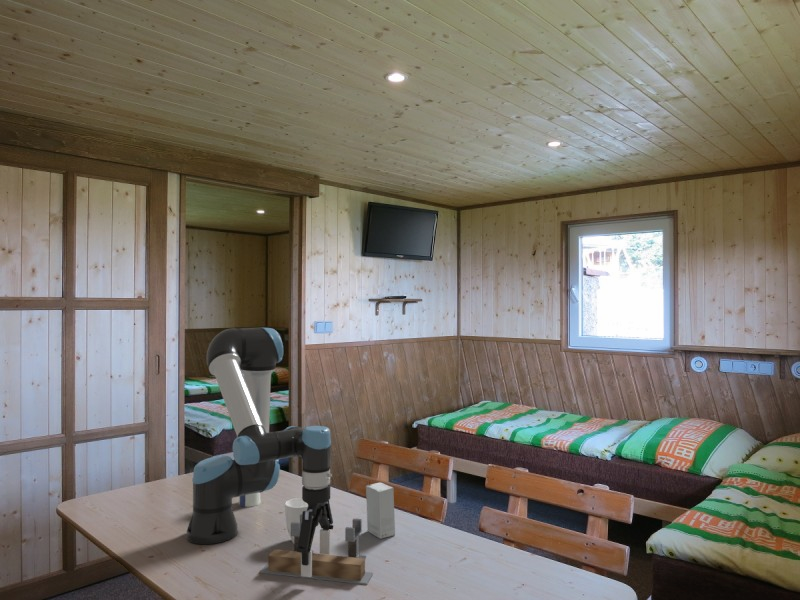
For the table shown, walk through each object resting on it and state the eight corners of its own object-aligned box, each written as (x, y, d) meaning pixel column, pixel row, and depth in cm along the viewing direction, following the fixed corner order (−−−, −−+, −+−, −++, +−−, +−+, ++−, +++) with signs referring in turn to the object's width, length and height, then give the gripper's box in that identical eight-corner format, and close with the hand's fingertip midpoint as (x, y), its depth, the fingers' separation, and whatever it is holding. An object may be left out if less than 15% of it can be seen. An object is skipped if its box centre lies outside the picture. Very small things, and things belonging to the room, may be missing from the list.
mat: (259, 572, 153) (259, 571, 153) (269, 562, 159) (269, 561, 159) (366, 584, 146) (366, 583, 146) (373, 574, 152) (373, 572, 152)
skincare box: (395, 535, 178) (395, 487, 178) (379, 540, 174) (379, 491, 175) (381, 526, 185) (381, 481, 185) (365, 530, 182) (365, 484, 182)
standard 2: (340, 568, 155) (340, 528, 155) (349, 556, 163) (349, 517, 163) (358, 570, 154) (358, 530, 154) (366, 557, 162) (366, 519, 162)
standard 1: (285, 562, 159) (286, 523, 159) (297, 550, 167) (297, 513, 167) (302, 564, 158) (302, 524, 158) (313, 552, 165) (313, 514, 166)
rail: (268, 570, 153) (268, 555, 154) (274, 563, 157) (274, 549, 157) (360, 580, 148) (360, 565, 148) (364, 573, 152) (365, 558, 152)
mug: (303, 549, 167) (302, 508, 168) (279, 544, 172) (279, 504, 172) (326, 535, 178) (325, 496, 178) (304, 530, 182) (303, 493, 182)
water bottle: (267, 501, 208) (267, 433, 209) (249, 508, 201) (249, 437, 201) (251, 497, 213) (251, 430, 213) (233, 504, 205) (233, 435, 206)
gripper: (312, 502, 140) (311, 588, 140) (344, 472, 164) (343, 546, 164) (284, 499, 141) (283, 585, 141) (319, 470, 166) (319, 543, 166)
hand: (315, 564), depth 153 cm, fingers open, 13 cm apart
